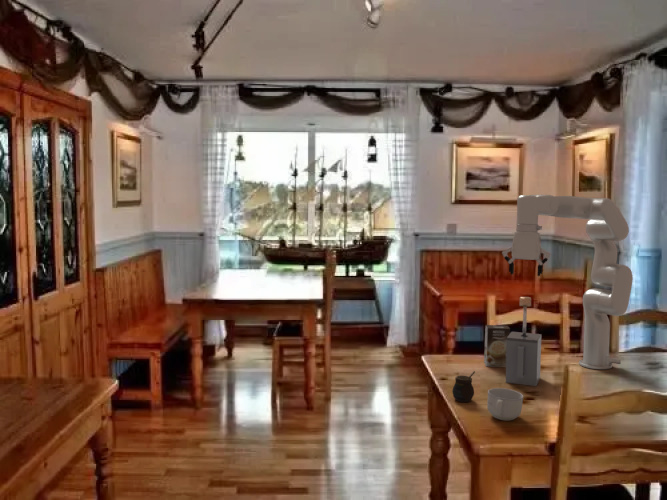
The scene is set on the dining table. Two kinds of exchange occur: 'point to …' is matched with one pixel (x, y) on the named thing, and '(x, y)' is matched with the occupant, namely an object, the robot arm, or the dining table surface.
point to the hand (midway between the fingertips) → (525, 274)
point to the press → (523, 358)
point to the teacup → (504, 403)
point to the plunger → (525, 311)
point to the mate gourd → (463, 388)
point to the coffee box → (496, 345)
